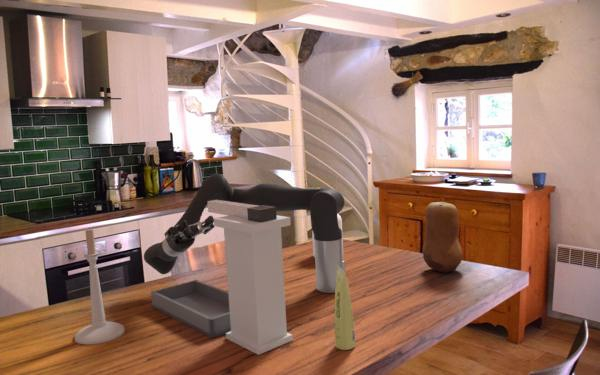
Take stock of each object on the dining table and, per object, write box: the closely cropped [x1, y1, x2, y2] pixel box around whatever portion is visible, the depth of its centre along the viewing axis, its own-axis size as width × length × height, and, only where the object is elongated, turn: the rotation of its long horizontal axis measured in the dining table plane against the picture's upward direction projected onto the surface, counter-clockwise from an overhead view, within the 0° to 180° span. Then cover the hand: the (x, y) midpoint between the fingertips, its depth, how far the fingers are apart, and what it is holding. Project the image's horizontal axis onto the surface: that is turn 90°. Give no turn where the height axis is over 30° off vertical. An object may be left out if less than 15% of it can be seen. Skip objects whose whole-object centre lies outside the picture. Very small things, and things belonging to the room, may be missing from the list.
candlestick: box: [74, 227, 126, 345], centre depth 137 cm, size 13×13×30 cm
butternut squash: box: [422, 201, 463, 274], centre depth 179 cm, size 14×13×25 cm
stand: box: [213, 214, 294, 356], centre depth 128 cm, size 16×12×32 cm
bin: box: [150, 279, 231, 339], centre depth 150 cm, size 35×16×5 cm, turn 42°
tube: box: [334, 266, 356, 351], centre depth 122 cm, size 6×5×20 cm
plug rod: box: [207, 200, 277, 222], centre depth 130 cm, size 25×5×3 cm, turn 42°
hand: (199, 220), depth 146 cm, fingers open, 8 cm apart
